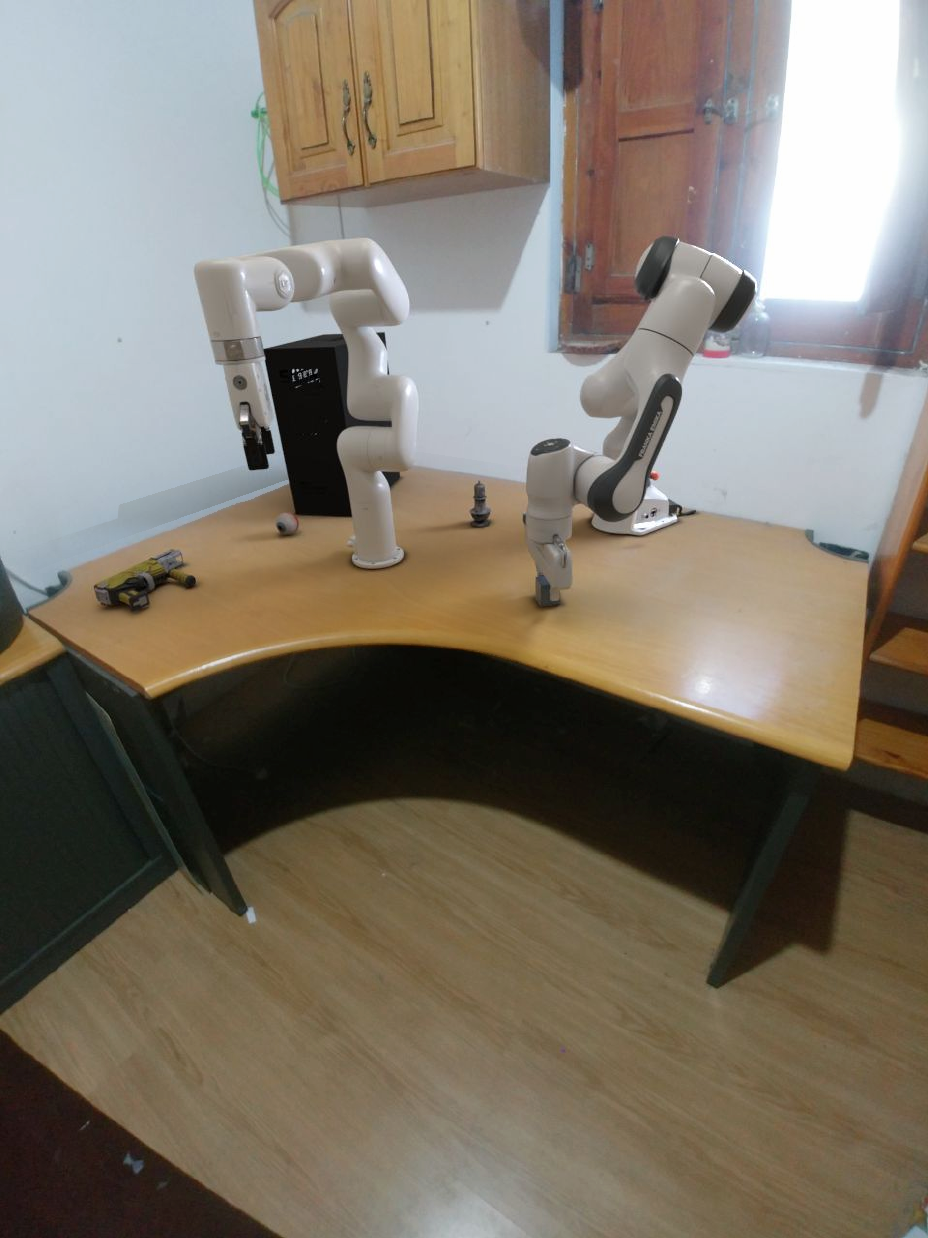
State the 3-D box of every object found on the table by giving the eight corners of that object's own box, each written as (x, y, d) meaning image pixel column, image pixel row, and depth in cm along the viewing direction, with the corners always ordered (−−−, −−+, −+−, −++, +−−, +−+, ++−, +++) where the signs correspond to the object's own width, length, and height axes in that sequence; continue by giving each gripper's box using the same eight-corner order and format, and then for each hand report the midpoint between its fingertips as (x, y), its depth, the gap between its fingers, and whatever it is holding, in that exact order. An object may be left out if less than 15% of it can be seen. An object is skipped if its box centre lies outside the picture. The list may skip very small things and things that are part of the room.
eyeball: (273, 537, 164) (268, 516, 161) (287, 528, 169) (282, 508, 166) (291, 539, 161) (286, 518, 158) (305, 530, 166) (301, 510, 163)
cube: (540, 607, 123) (540, 585, 120) (535, 598, 126) (535, 576, 124) (559, 604, 123) (560, 582, 121) (554, 595, 127) (554, 574, 124)
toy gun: (219, 557, 146) (169, 546, 150) (142, 598, 126) (87, 585, 129) (222, 574, 148) (172, 563, 152) (147, 618, 128) (92, 604, 132)
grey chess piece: (489, 527, 162) (488, 483, 156) (468, 526, 163) (466, 483, 157) (493, 519, 167) (491, 476, 161) (472, 518, 168) (470, 476, 162)
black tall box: (359, 516, 174) (334, 346, 152) (295, 513, 179) (262, 349, 156) (400, 477, 206) (384, 331, 183) (345, 476, 210) (323, 334, 188)
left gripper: (256, 355, 86) (280, 473, 95) (269, 344, 101) (289, 447, 110) (202, 359, 85) (231, 478, 94) (223, 347, 100) (247, 450, 109)
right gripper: (582, 544, 108) (579, 611, 115) (549, 507, 126) (548, 567, 132) (548, 548, 107) (547, 616, 114) (520, 510, 125) (520, 571, 132)
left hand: (262, 461), depth 102 cm, fingers open, 9 cm apart
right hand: (547, 589), depth 123 cm, fingers open, 7 cm apart
